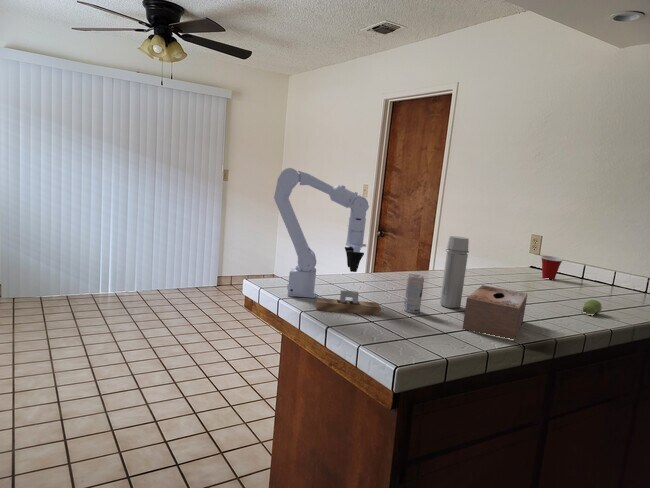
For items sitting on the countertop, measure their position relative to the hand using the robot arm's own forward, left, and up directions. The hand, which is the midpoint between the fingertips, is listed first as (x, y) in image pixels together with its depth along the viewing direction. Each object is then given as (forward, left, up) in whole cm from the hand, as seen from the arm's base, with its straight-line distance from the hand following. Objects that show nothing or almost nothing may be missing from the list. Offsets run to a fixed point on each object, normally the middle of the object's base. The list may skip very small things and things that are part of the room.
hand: (351, 269), depth 157 cm
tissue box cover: (+45, -19, -11) cm, 50 cm away
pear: (+94, +7, -11) cm, 95 cm away
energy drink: (+20, -10, -11) cm, 25 cm away
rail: (-2, -15, -10) cm, 18 cm away
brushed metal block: (-2, -15, -10) cm, 18 cm away
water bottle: (+36, 0, -11) cm, 38 cm away
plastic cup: (+117, +77, -11) cm, 140 cm away
